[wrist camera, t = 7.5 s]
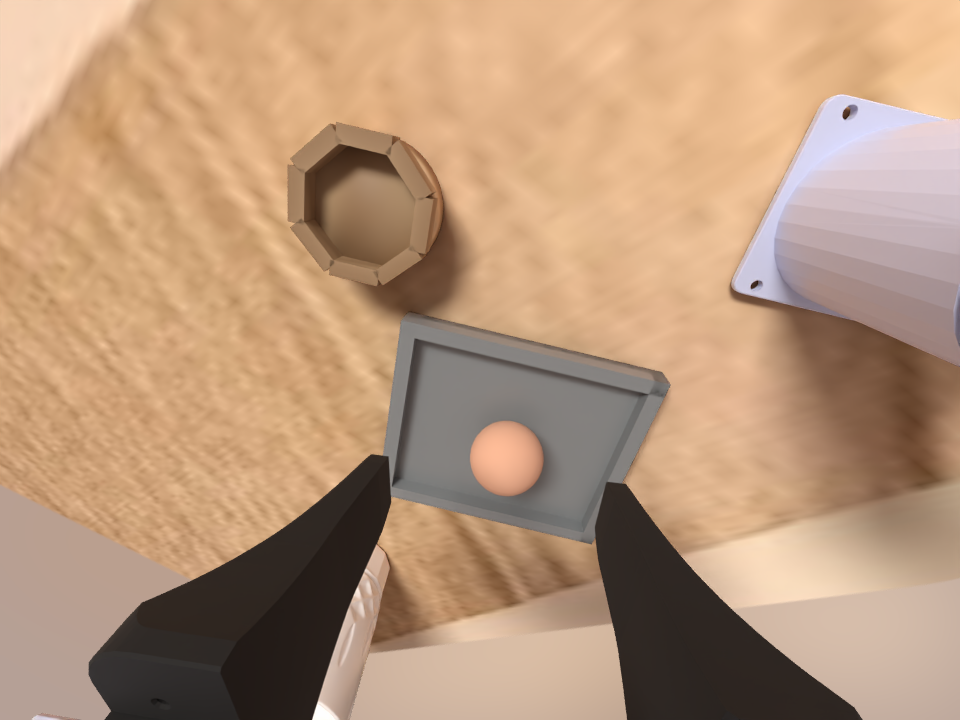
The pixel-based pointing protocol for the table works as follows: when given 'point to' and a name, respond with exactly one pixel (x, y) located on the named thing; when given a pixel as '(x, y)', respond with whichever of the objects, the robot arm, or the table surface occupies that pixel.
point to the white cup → (353, 643)
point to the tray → (520, 398)
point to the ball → (506, 458)
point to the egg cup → (363, 203)
